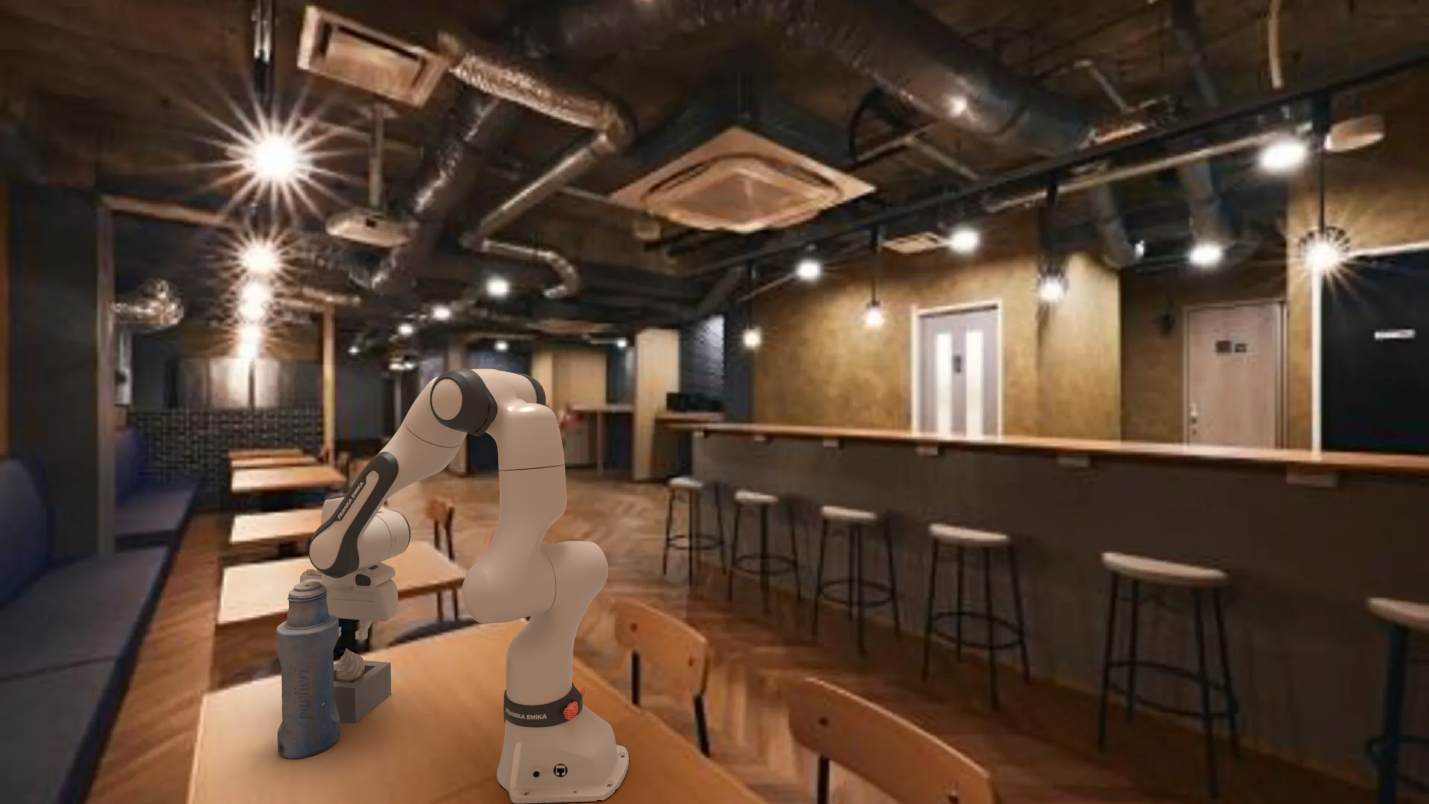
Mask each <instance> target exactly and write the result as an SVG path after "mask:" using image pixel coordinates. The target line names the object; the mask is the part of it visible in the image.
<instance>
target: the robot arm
mask: <svg viewBox="0 0 1429 804" xmlns="http://www.w3.org/2000/svg"><path fill="white" fill-rule="evenodd" d="M546 405H547V396H546V392H545V389H544V388H543V386H542V384H541V383H540V382H539V381H538V380H537V379H535V378H534V377H532V376H530V375H528V374H526V373H525V374H524V373H520V372H509V371H504V370H498V369H494V368H473V369H471V368H466V367H464V368H463V367H462V368H456V369H452V370H448V371H446V372H444V373H441V374H440V375H439V376H436V377H434V378H432V379H431V380H430V381H429V382H428V383H427V384H426V385H425V387H424V388H423V389H422V390H421V392H420V393H419V395H418V396H417V397H416V399H414V402H413V403H412V405H411V406H410V408H409V410H408V412H407V414H406V415H405V417H404V419H403V420H402V423H401V425H400V426H399V428H398V429H397V431H396V432H395V433H394V435H393V436H392V437H391V439H390V440H389V442H388V443H387V444H386V445H385V446H384V447H383V448H382V449H380V451H379V452H378V453H377V454H376V455H375V456H374V457H373V458H372V459H371V460H370V461H369V462H368V463H367V464H366V465H365V466H364V468H363V469H362V471H361V472H360V474H359V475H358V476H357V478H356V479H355V481H354V482H353V484H352V485H351V486H350V488H349V490H348V491H347V493H342V494H337V495H332V496H330V497H328V498H327V499H326V500H325V501H324V502H323V506H322V508H321V518H320V519H321V520H320V526H318V527H317V529H316V530H315V532H314V533H313V534H312V535H313V536H312V537H311V540H310V542H309V546H308V559H309V561H310V563H311V564H312V566H313V567H314V568H315V569H314V568H309V569H306V571H303V572H302V573H301V575H300V577H299V583H303V582H309V581H316V582H320V583H321V585H323V586H325V587H326V590H327V596H326V601H327V606H328V612H329V614H332V615H335V616H336V617H337V618H338V619H346V620H359V624H360V625H361V627H360V629H358V630H356V631H355V633H354V634H355V640H356V641H364V640H367V639H368V637H369V636H368V635H369V634H368V633H369V629H370V627H371V625H372V624H373V622H374V621H375V622H387V621H389V620H391V619H392V618H393V617H395V616H396V615H397V614H398V611H399V593H398V592H399V591H398V587H397V586H398V585H397V584H396V582H395V581H394V580H393V578H394V577H395V576H396V569H395V568H394V567H393V566H390V565H388V564H385V563H384V561H388V560H389V559H393V558H395V557H397V556H399V555H402V554H403V553H404V552H405V551H406V550H407V548H408V547H409V545H410V542H411V537H412V532H411V531H412V530H411V525H410V524H409V521H408V519H407V518H406V517H405V516H404V515H403V514H402V513H400V512H399V511H396V510H390V509H387V508H385V507H383V505H384V504H385V503H386V501H387V500H388V499H390V498H391V497H392V496H394V495H395V494H397V493H398V492H399V491H401V490H403V489H405V488H406V487H409V486H410V485H413V484H415V483H417V482H420V481H422V480H424V479H427V478H430V477H431V476H434V475H437V474H438V473H440V472H442V471H443V470H444V469H445V468H446V467H447V466H448V465H449V464H451V462H452V461H453V460H454V458H455V457H456V456H457V454H458V453H459V450H460V449H461V447H462V445H463V443H464V442H465V441H464V440H466V439H465V438H466V436H467V435H468V434H470V435H473V436H476V437H481V436H482V435H483V434H484V433H487V434H488V435H490V436H491V437H492V438H493V440H494V441H495V443H496V446H497V454H498V455H497V456H498V461H497V462H498V481H499V483H498V484H499V514H498V520H497V523H496V528H495V531H494V534H493V536H492V538H491V541H490V543H489V545H488V546H487V548H486V550H485V551H484V553H483V554H482V555H481V556H480V558H478V560H477V561H476V562H475V563H474V564H472V566H471V567H470V568H469V569H468V571H467V573H466V574H465V577H464V580H463V582H462V588H461V598H462V602H463V606H464V608H465V610H466V612H467V613H468V615H470V616H471V618H472V619H473V620H474V621H476V622H478V623H479V624H483V625H484V624H485V625H486V624H501V623H502V624H503V623H511V622H514V621H517V620H521V619H525V618H528V617H530V619H529V620H528V622H527V623H526V625H525V626H524V627H523V628H522V629H521V630H520V631H518V633H517V634H516V635H515V636H514V637H513V638H512V640H511V641H510V643H509V644H508V647H507V650H506V654H505V660H506V662H505V665H506V666H505V673H506V674H505V675H506V676H505V677H506V681H505V682H506V683H505V684H506V685H505V690H504V693H503V704H502V705H503V707H502V709H503V710H502V711H503V722H504V724H505V725H504V736H503V744H502V748H501V749H502V750H501V755H500V759H499V763H498V766H497V770H496V779H497V781H498V783H499V784H500V786H502V788H504V789H505V790H506V791H507V792H508V795H509V799H510V801H511V803H513V804H542V803H543V804H544V803H546V804H549V803H576V802H577V803H578V802H582V803H583V802H598V801H597V800H602V801H605V800H606V799H608V798H609V797H611V796H612V795H613V794H614V793H615V792H616V791H617V790H618V789H619V788H620V786H621V785H622V783H623V781H624V780H625V777H626V775H627V772H628V771H629V770H628V769H629V763H630V760H629V752H628V750H627V748H626V747H625V746H623V745H619V744H617V743H616V737H615V733H614V730H613V727H612V725H611V724H610V723H608V722H607V721H606V720H604V719H603V718H601V717H600V716H599V715H597V714H596V713H594V712H593V711H592V710H590V708H588V707H587V706H586V705H584V704H583V703H584V702H583V699H584V697H585V695H586V687H585V686H583V687H582V689H581V690H579V689H577V687H576V686H575V684H574V682H573V658H574V657H573V656H574V646H575V639H576V636H577V632H578V630H579V627H580V624H581V622H582V620H583V617H584V616H585V613H586V611H587V609H588V608H589V606H590V604H591V603H592V601H594V599H595V598H596V597H597V596H598V594H599V593H600V592H601V591H602V590H603V589H604V587H605V586H606V583H607V579H608V577H609V563H608V560H607V557H606V554H605V553H604V551H603V550H602V548H601V547H600V546H599V545H598V544H597V543H596V542H594V541H590V540H589V541H588V540H565V541H562V542H561V541H560V542H555V543H551V544H546V545H542V544H543V541H544V537H545V535H546V533H547V531H548V530H549V528H550V527H551V526H552V525H553V524H554V523H556V522H557V521H558V520H559V519H560V518H561V517H562V516H563V515H564V514H565V511H566V509H567V505H568V496H567V495H568V493H567V479H566V478H567V477H566V465H565V464H566V463H565V453H564V446H563V441H562V435H561V430H560V426H559V423H558V420H557V419H558V418H557V415H556V413H555V412H554V411H553V410H552V409H551V408H549V407H548V406H546ZM341 631H342V626H339V637H341V635H342V632H341ZM616 789H617V790H616ZM615 790H616V791H615Z"/></svg>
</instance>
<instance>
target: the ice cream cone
mask: <svg viewBox="0 0 1429 804" xmlns="http://www.w3.org/2000/svg"><path fill="white" fill-rule="evenodd" d="M340 660H341V661H340ZM340 660H339V661H340V662H339V661H338V663H337V662H336V663H337V666H339V667H338V668H337V669H336V671H337V672H336V677H337V679H338V680H340V681H342V682H354V681H356V680H357V679H358V678H360V677H361V676H362V674H363V671H364V658H363V657H362V656H361V654H358V653H356V652H353V651H351V650H350V649H348V648H347V647H345V650H344V653H343V654H342V656H341V657H340Z"/></svg>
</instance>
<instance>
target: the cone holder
mask: <svg viewBox="0 0 1429 804" xmlns="http://www.w3.org/2000/svg"><path fill="white" fill-rule="evenodd" d="M363 660H364V659H363ZM340 661H341V660H339V661H338V662H340ZM338 662H336V663H334V700H335V704H336V707H337V710H338V713H339V717H340V723H350V724H351V723H352V724H357V723H358V722H359V721H360V720H362V719H363V718H364V717H366V715H368V714H369V713H370V712H371V711H373V710H374V709H375V708H377V707H378V706H379V705H380V704H381V703H383V702H384V701H385V700H386V699H388V698H389V697H390V696H391V695H392V677H391V676H392V671H391V669H392V665H391V664H392V663H391V662H389V661H377V660H364V671H363V674H362V676H361V677H360V678H358V679H357V680H356V681H354V682H342V681H340V680H338V679H337V677H336V672H337V671H336V669H337V668H338V667H339V666H337V663H338Z"/></svg>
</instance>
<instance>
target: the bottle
mask: <svg viewBox="0 0 1429 804" xmlns="http://www.w3.org/2000/svg"><path fill="white" fill-rule="evenodd" d="M326 596H327V590H326V587H325V586H323V585H321V583H320V582H316V581H309V582H303V583H300V582H299V583H297V584H294V586H293V588H292V589H291V590H289V591H288V595H287V600H288V610H287V616H286V620H285V621H283V622H282V623H280V624H278V626H277V627H276V631H275V632H276V652H277V656H278V659H279V660H278V661H279V665H280V670H281V671H280V673H281V674H280V675H281V678H280V679H281V719H282V720H281V723H280V725H279V727H278V729H277V740H276V741H277V752H278V753H279V754H280V756H282V757H284V758H288V759H300V758H307V757H312V756H314V755H318V754H320V753H322V752H325V751H326V750H328V749H329V748H331V747H332V746H333V745H335V744H336V742H337V741H338V740H339V738H340V731H341V730H340V728H341V727H340V725H341V722H340V717H339V713H338V710H337V707H336V704H335V700H334V664H335V663H334V660H335V659H334V657H335V656H334V655H335V654H334V652H335V651H334V649H335V647H336V646H337V642H338V641H339V638H340V636H339V627H340V626H339V625H340V624H339V623H340V620H339V618H337V617H336V616H335V615H332V614H329V612H328V606H327V601H326Z"/></svg>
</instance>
